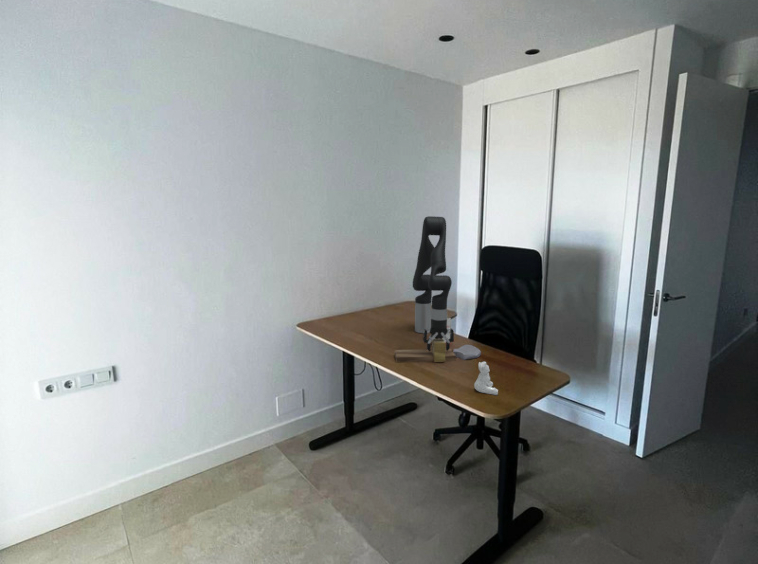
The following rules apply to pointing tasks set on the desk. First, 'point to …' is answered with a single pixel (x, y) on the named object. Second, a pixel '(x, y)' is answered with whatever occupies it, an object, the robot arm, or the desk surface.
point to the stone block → (467, 352)
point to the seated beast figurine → (484, 380)
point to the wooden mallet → (438, 350)
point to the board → (421, 355)
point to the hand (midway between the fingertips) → (438, 350)
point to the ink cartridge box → (447, 328)
